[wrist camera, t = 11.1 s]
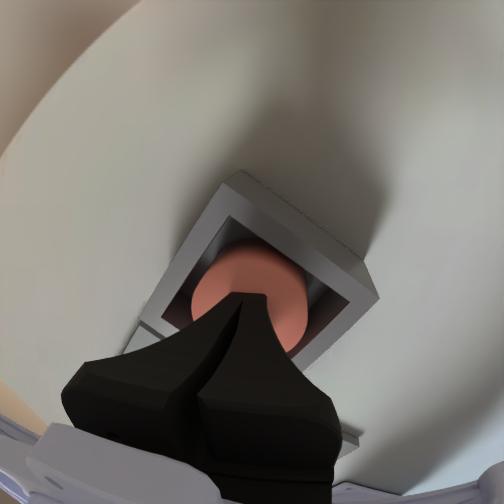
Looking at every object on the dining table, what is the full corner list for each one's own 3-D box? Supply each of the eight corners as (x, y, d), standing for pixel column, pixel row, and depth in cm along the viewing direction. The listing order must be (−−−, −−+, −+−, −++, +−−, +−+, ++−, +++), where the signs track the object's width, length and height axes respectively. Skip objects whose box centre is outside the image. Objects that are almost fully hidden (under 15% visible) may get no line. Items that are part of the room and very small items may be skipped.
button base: (363, 261, 14) (379, 298, 11) (275, 353, 17) (268, 399, 14) (240, 169, 14) (222, 182, 10) (166, 282, 16) (138, 317, 13)
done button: (327, 278, 13) (332, 309, 11) (267, 341, 15) (261, 376, 13) (243, 217, 13) (231, 237, 11) (191, 291, 15) (172, 320, 12)
